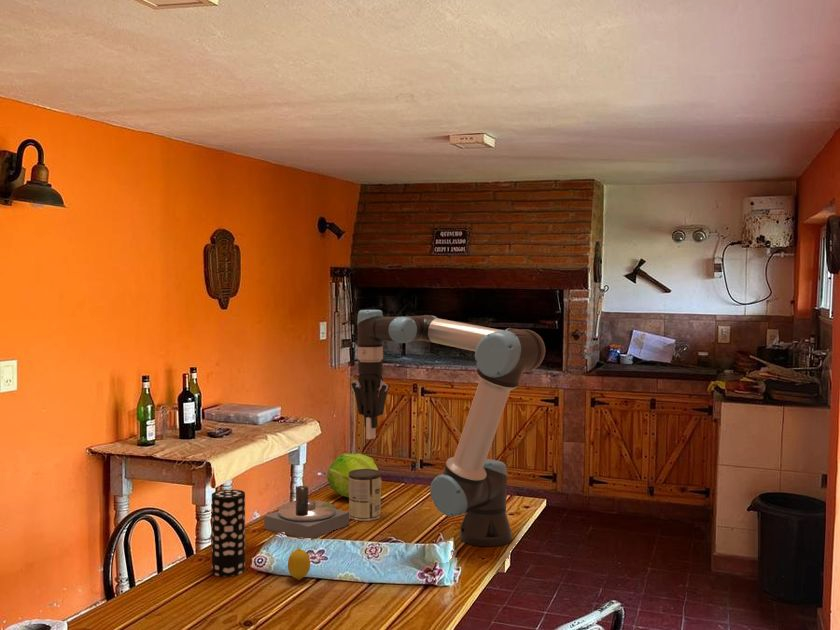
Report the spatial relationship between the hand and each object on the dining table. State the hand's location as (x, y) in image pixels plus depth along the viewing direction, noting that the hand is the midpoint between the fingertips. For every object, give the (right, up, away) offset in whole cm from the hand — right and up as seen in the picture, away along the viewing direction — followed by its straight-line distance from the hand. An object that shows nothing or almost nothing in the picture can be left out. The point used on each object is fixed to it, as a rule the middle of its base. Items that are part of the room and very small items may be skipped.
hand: (370, 438), depth 244 cm
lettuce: (-7, -26, +33) cm, 42 cm away
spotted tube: (-34, -29, -37) cm, 58 cm away
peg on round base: (-19, -23, 0) cm, 30 cm away
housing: (-19, -27, 0) cm, 33 cm away
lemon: (-15, -29, -43) cm, 54 cm away
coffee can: (-3, -27, +12) cm, 29 cm away
